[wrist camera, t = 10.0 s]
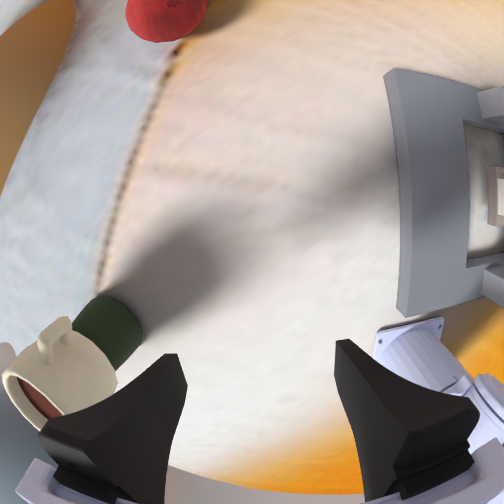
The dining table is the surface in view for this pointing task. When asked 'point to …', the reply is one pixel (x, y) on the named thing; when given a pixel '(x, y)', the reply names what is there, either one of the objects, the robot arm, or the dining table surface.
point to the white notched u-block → (495, 195)
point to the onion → (164, 18)
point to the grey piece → (439, 190)
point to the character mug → (73, 362)
